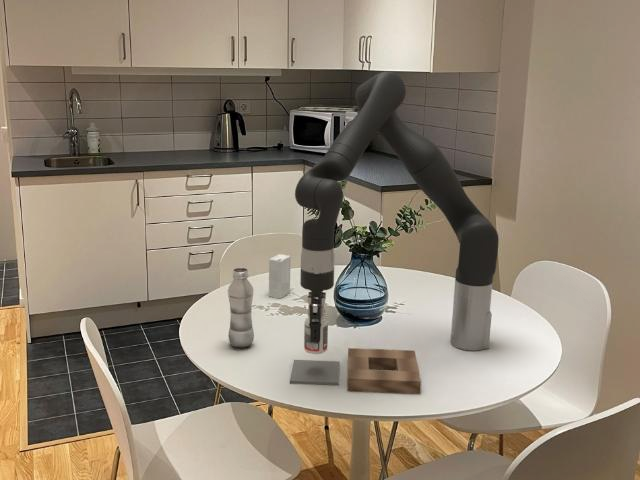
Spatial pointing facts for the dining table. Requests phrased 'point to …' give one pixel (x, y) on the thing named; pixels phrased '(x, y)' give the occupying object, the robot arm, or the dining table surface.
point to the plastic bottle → (240, 309)
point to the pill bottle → (322, 345)
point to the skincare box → (279, 276)
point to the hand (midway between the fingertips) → (316, 335)
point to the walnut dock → (383, 371)
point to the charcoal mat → (315, 372)
